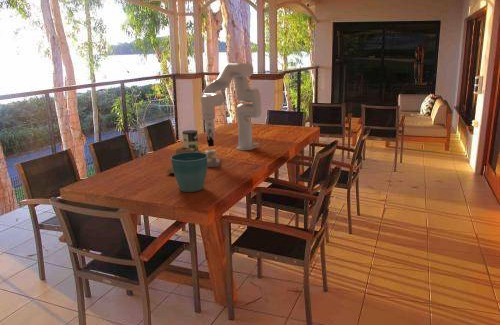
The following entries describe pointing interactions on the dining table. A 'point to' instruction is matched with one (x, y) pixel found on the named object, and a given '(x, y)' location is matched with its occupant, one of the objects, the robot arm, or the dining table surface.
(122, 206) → the dining table surface
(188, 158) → the flower pot
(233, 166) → the dining table surface
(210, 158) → the oak cube
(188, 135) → the coffee can
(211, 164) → the slate trivet
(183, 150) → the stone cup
